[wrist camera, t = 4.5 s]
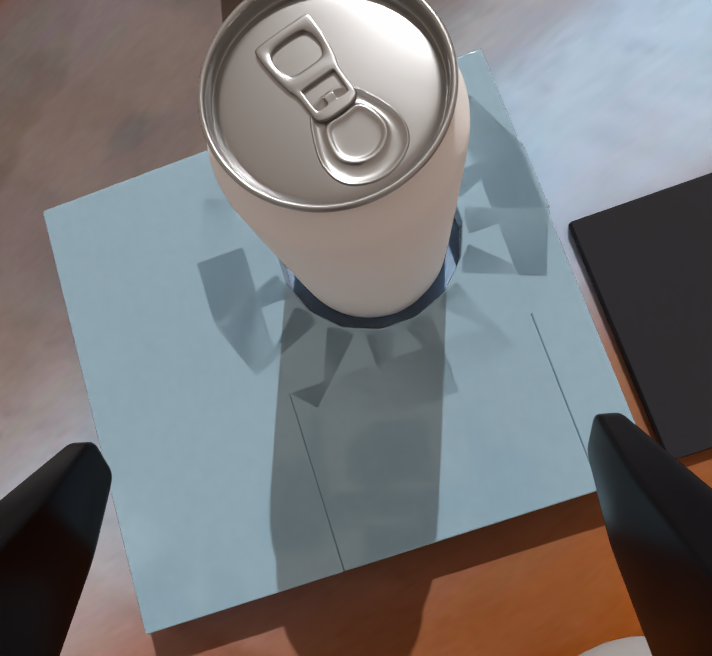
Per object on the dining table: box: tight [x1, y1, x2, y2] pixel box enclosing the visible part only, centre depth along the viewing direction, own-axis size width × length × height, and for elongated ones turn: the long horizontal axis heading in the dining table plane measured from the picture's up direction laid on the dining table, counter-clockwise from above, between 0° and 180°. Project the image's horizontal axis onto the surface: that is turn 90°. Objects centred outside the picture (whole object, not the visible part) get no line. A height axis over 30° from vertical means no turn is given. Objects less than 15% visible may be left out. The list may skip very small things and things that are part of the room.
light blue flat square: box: [43, 49, 636, 634], centre depth 22 cm, size 20×19×1 cm
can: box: [198, 0, 470, 318], centre depth 17 cm, size 6×6×12 cm
